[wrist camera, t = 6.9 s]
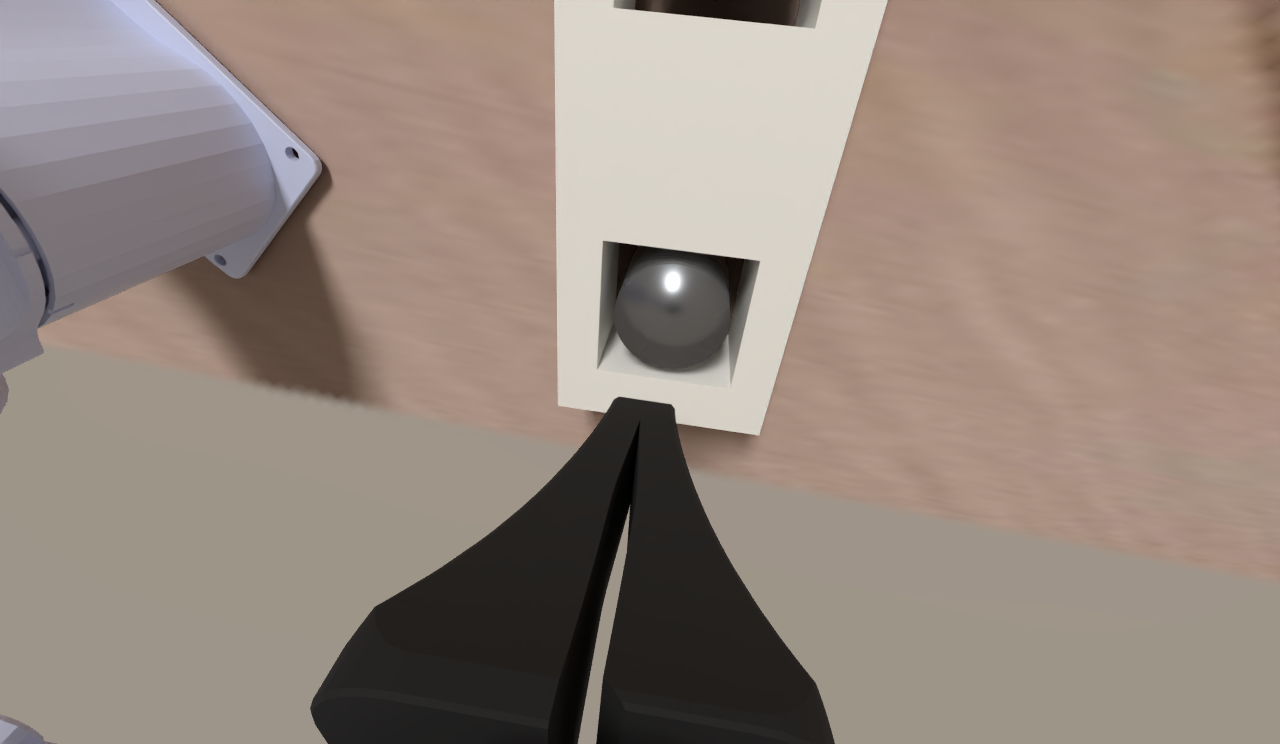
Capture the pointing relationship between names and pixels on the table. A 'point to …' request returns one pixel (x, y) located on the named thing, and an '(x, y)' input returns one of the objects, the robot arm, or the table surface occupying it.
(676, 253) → the peg
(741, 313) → the band board
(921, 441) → the table surface
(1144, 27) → the table surface
